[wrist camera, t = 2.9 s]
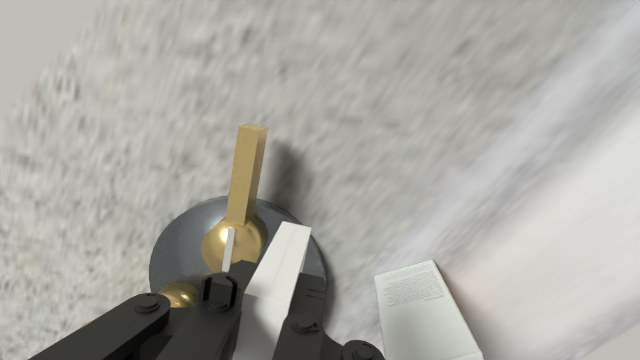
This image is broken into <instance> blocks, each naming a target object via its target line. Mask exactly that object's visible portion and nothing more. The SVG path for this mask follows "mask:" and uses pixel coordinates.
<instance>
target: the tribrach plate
mask: <svg viewBox="0 0 640 360" xmlns="http://www.w3.org/2000/svg"><path fill="white" fill-rule="evenodd" d="M228 197H229V196H222V197H217V198H212V199H209V200H206V201H203V202H201V203H199V204H197V205H195V206H193V207H192V208H190V209H188V210H187V211H185V212H184V213H183V214H181V215H180V216H178V217H177V218H176V219H175V220H173V221H172V222H171V223H170V224H169V225H168V226H167V227H166V228H165V229H164V231H163V232H162V234H161V235H160V236H159V238H158V240H157V242H156V244H155V246H154V249H153V252H152V255H151V259H150V265H149V281H150V289H151V292H152V293H158V292H159V291H160V290H161V289H162V288H163V287H164V286H165V285H166V284H168V283H170V282H174V281H182V282H186V283H188V284H191V285H192V286H194V287H195V288H196V289H197V290H198V291H199V292H200V287H201V280H202V279H203V278H204V277H205V276H207V275H210V274H213V273H214V272H213V271H212V270H210V269H209V268H208V266H207V265H206V264H205V262H204V260H203V257H202V253H201V245H202V241H203V239H204V237H205V235H206V234H207V233H208V232H209V231H210V230H211V229H212V228H213V227H214V226H215V225H216V224H218V223H219V222H220V221H221V220H222V219H223V218H224V217H225V216H226V211H227V204H228ZM254 213H255V214H257V215H258V216H259V217H260V218H261V219H262V220H263V221H264V223H265V224H266V227H267V230H268V241H267V244H266V246H265V248H264V250H263V251H262V253H261V255H260V257H259V258H258V260H257V262H256V263H258V264H260V262H261V260H262V259H263V257H264V255H265V253H266V251H267V249H268V247H269V246H270V244H271V242H272V240H273V238H274V236H275V235H276V233H277V231H278V229H279V227H280V225H281V223H282V222H283V221H284V222H289V223H293V224H298V225H302V224H301V223H300V222H299V221H298V220H297V219H296V218H295V217H293V216H292V215H291V214H289V213H288V212H287V211H285V210H283V209H282V208H280V207H278V206H276V205H274V204H272V203H269V202H267V201H264V200H261V199H257V198H256V203H255V209H254ZM302 226H303V225H302ZM302 273H305V274H310V275H314V276H318V277H322V278H323V279H324V281H325V283H326V271H325V265H324V261H323V258H322V255H321V252H320V250H319V248H318V246H317V244H316V242H315V240H314V239H313V237H312V236H311V234H310V237H309V242H308V247H307V251H306V256H305V261H304V265H303V270H302ZM232 359H233V355H232V357H231V359H230V360H232Z"/></svg>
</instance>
